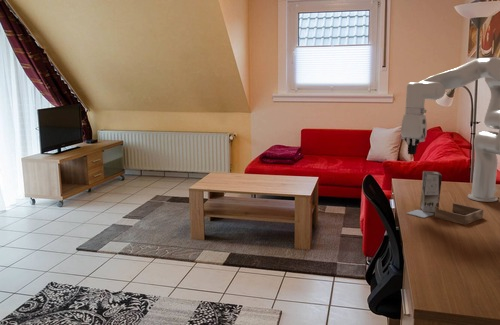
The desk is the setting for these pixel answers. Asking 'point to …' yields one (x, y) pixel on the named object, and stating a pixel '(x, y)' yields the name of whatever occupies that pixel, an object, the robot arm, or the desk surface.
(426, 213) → the mat grey
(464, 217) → the bay walnut
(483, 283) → the desk surface
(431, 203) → the coffee box
